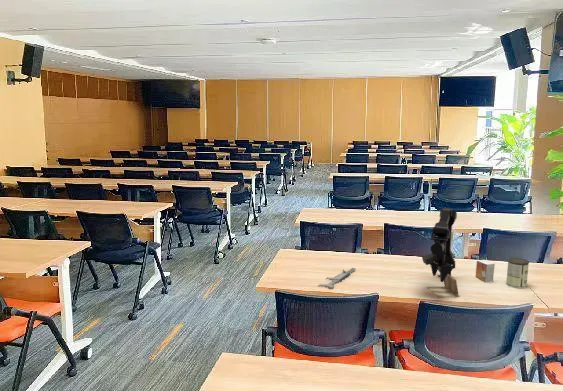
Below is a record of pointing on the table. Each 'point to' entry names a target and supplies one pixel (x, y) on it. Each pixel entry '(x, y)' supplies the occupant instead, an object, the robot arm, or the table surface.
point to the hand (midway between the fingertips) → (437, 278)
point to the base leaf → (442, 292)
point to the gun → (338, 278)
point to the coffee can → (517, 272)
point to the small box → (485, 270)
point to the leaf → (451, 284)
